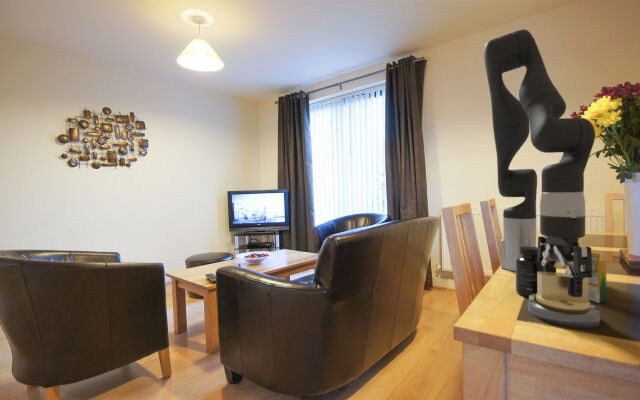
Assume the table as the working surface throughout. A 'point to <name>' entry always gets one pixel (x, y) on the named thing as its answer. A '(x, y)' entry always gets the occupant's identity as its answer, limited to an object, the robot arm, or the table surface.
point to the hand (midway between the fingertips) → (561, 289)
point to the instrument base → (564, 315)
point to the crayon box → (597, 280)
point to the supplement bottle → (527, 271)
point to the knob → (560, 293)
